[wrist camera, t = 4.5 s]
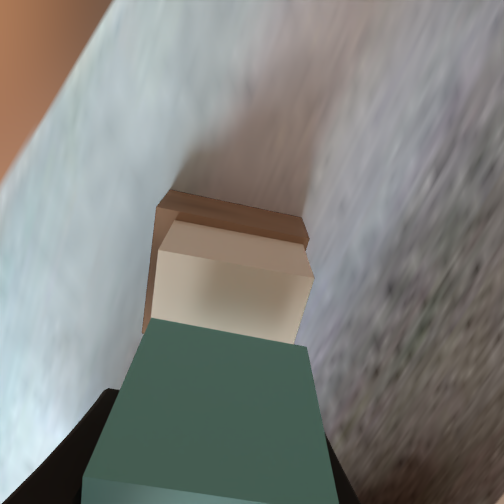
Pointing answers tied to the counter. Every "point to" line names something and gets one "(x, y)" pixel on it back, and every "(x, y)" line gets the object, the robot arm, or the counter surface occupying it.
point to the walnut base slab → (217, 226)
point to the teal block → (212, 424)
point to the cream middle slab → (231, 282)
